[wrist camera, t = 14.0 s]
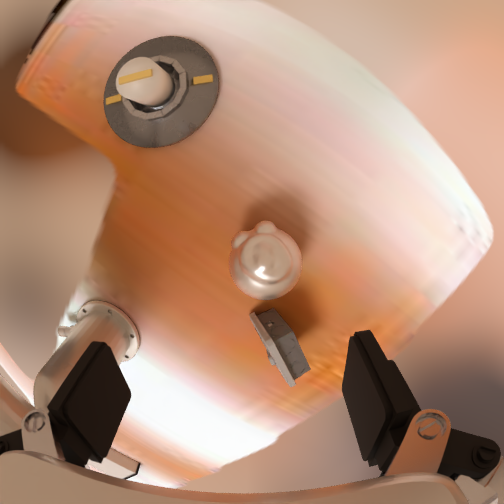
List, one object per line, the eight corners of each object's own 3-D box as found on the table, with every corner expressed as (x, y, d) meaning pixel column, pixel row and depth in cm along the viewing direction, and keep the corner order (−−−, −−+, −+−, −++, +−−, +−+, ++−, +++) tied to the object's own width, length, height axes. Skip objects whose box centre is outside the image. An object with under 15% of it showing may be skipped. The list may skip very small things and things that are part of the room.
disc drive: (123, 471, 66) (120, 482, 62) (67, 439, 62) (62, 449, 57) (141, 462, 62) (137, 474, 57) (76, 425, 57) (70, 437, 52)
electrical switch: (247, 311, 41) (253, 348, 33) (279, 297, 41) (292, 332, 32) (271, 354, 44) (280, 393, 36) (300, 342, 44) (314, 379, 35)
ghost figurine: (306, 223, 37) (323, 247, 27) (286, 286, 40) (295, 325, 31) (239, 207, 36) (234, 226, 27) (224, 272, 39) (215, 309, 30)
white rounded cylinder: (138, 77, 29) (113, 62, 22) (174, 68, 29) (155, 50, 22) (140, 111, 31) (114, 103, 24) (176, 103, 31) (157, 92, 24)
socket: (110, 157, 34) (102, 158, 31) (106, 55, 28) (98, 51, 26) (223, 138, 33) (221, 137, 31) (215, 29, 28) (212, 22, 26)
